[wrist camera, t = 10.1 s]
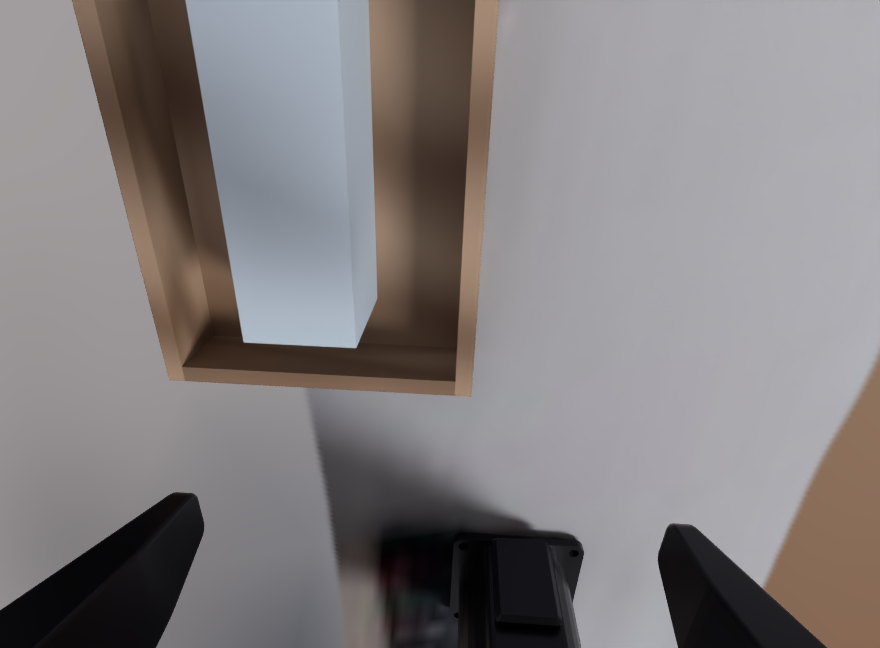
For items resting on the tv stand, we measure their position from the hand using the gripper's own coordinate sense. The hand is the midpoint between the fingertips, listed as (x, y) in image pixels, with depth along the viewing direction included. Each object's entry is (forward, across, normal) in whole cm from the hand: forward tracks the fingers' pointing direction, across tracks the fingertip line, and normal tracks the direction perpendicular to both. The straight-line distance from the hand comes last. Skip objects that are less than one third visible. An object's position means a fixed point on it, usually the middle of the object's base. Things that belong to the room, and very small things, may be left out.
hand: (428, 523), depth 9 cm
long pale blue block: (+11, +5, -6) cm, 13 cm away
